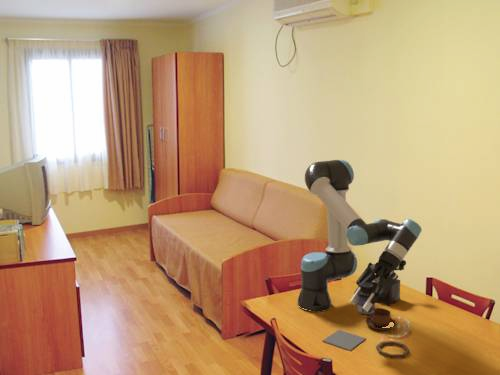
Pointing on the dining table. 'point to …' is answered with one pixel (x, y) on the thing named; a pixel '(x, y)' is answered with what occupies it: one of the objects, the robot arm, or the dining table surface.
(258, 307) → the dining table surface
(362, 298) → the pill bottle
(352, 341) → the mat
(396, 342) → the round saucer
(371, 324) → the cup and saucer
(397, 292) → the manual coffee grinder
